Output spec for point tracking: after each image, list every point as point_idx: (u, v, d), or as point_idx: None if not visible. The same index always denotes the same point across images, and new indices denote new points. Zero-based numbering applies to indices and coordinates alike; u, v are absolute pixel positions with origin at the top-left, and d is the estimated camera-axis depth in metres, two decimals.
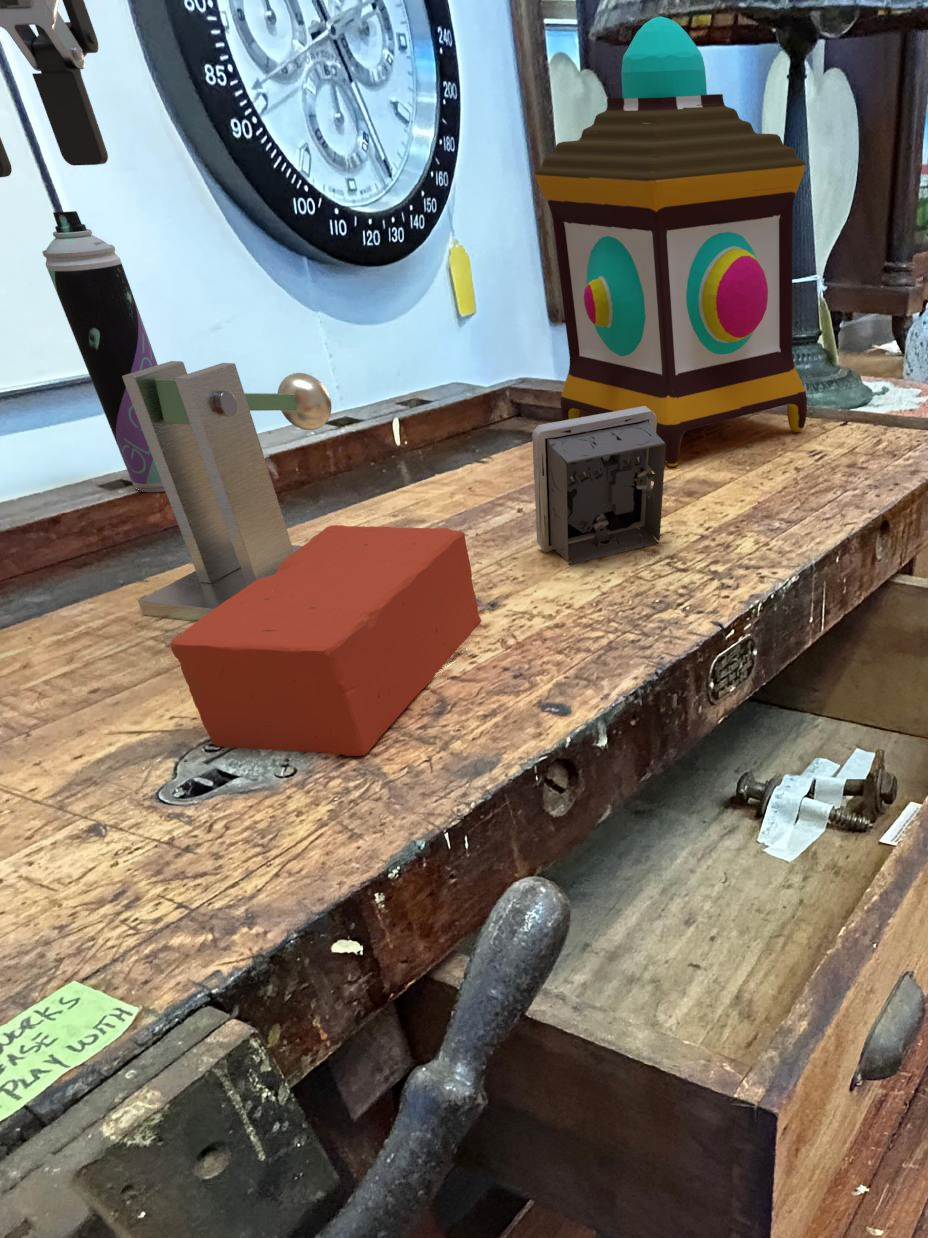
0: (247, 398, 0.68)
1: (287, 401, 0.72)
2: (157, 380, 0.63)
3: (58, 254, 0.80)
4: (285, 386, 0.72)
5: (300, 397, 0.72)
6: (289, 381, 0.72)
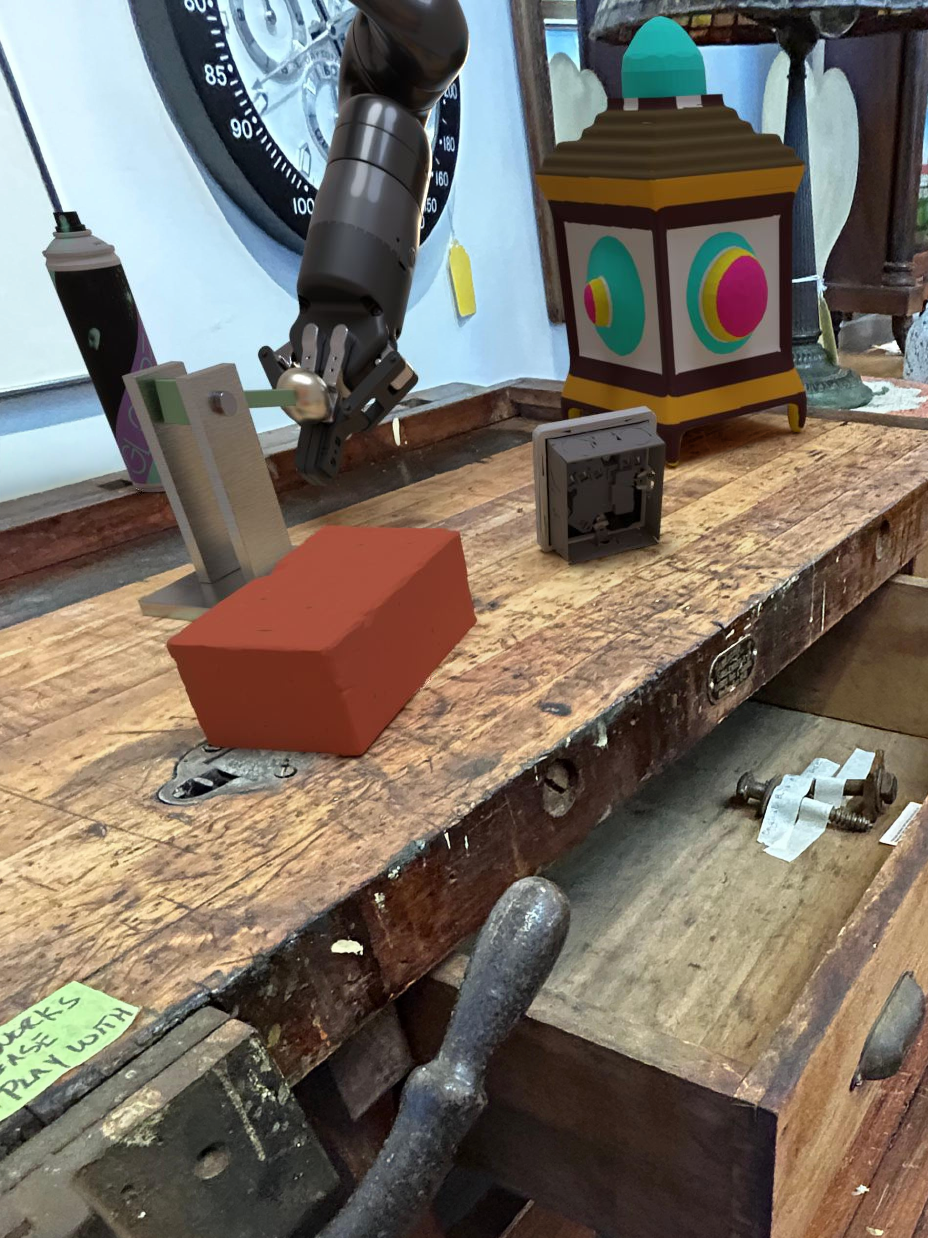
0: (246, 396, 0.68)
1: (286, 397, 0.71)
2: (157, 381, 0.63)
3: (58, 254, 0.80)
4: (284, 381, 0.72)
5: (299, 392, 0.72)
6: (288, 376, 0.72)
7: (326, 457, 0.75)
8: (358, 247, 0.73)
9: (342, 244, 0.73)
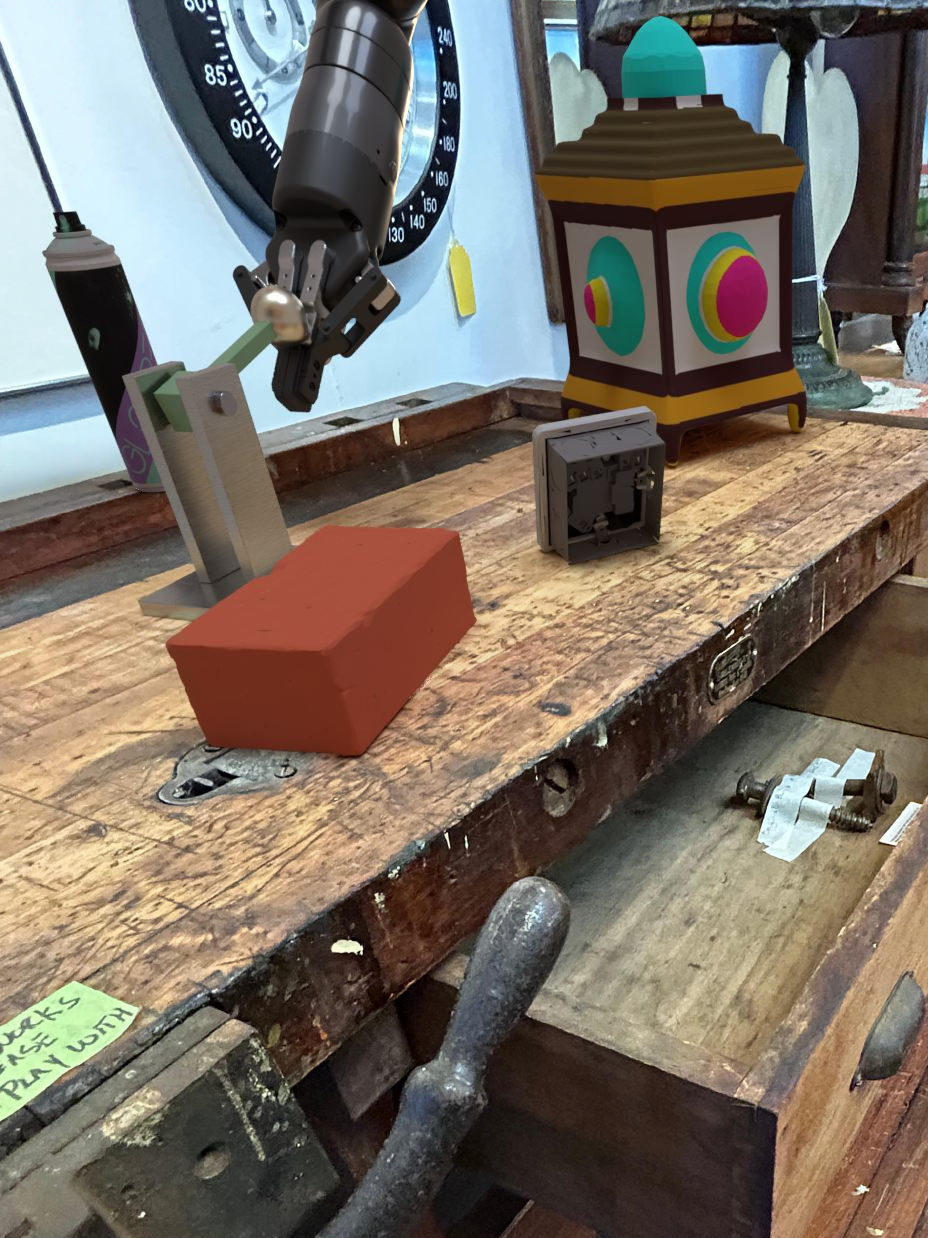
0: (234, 361, 0.67)
1: (266, 335, 0.69)
2: (156, 394, 0.63)
3: (58, 254, 0.80)
4: (258, 313, 0.69)
5: (277, 323, 0.69)
6: (260, 306, 0.69)
7: (304, 380, 0.72)
8: (336, 157, 0.70)
9: (319, 154, 0.69)
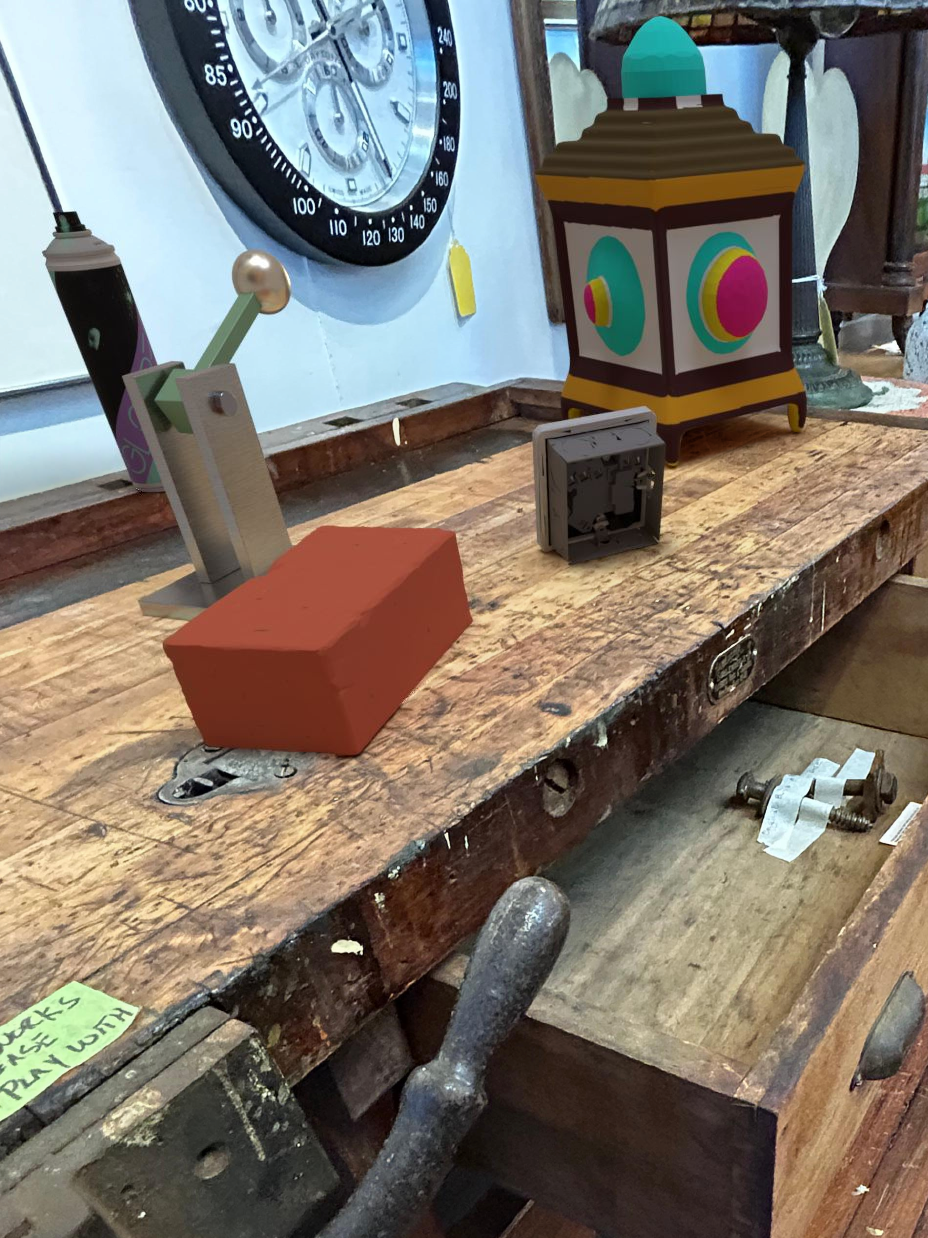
0: (225, 347, 0.66)
1: (252, 308, 0.67)
2: (157, 401, 0.63)
3: (57, 254, 0.80)
4: (241, 284, 0.67)
5: (260, 293, 0.67)
6: (242, 276, 0.67)
7: None
8: None
9: None
